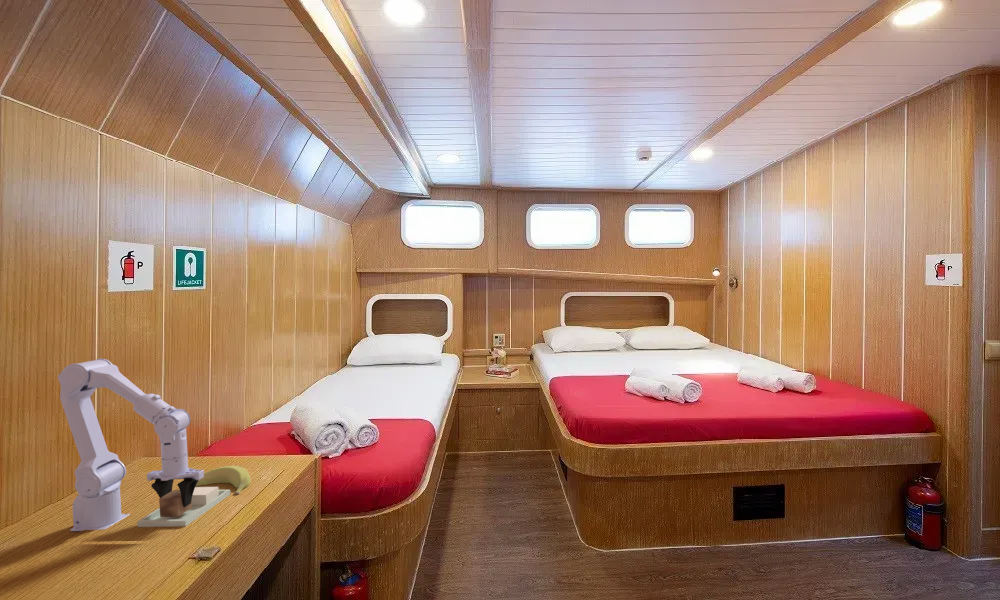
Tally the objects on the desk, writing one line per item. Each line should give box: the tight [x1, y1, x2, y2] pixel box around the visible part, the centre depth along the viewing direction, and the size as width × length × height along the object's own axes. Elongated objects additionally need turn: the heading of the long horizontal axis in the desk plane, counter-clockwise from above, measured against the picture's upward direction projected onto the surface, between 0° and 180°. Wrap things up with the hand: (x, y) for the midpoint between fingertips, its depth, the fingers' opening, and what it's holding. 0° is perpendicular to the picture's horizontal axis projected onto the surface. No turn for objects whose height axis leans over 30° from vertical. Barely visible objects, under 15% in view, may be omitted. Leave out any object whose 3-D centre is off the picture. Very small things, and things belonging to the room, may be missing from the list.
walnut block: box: [158, 489, 192, 517], centre depth 120 cm, size 5×5×5 cm
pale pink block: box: [192, 486, 220, 506], centre depth 129 cm, size 8×5×3 cm, turn 88°
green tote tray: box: [136, 489, 231, 528], centre depth 124 cm, size 13×18×2 cm
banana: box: [196, 465, 252, 496], centre depth 138 cm, size 14×6×20 cm
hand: (177, 505), depth 121 cm, fingers closed on walnut block, 5 cm apart
